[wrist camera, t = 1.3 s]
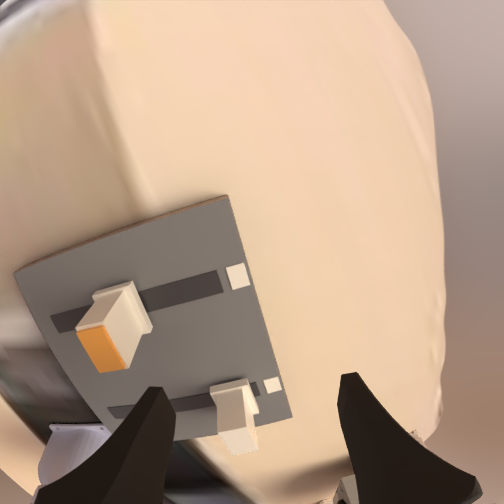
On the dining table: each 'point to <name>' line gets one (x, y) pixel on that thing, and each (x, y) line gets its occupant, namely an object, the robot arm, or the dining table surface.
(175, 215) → the breaker panel
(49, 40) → the dining table surface
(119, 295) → the block
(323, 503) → the ink cartridge box
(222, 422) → the block
